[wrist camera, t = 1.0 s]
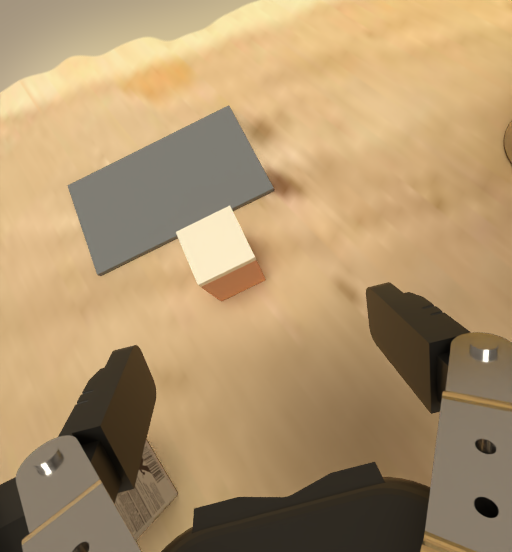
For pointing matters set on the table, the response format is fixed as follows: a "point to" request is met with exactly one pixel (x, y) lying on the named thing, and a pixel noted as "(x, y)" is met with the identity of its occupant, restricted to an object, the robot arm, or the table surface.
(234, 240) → the block
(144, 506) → the brown food box
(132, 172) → the mat
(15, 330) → the table surface
